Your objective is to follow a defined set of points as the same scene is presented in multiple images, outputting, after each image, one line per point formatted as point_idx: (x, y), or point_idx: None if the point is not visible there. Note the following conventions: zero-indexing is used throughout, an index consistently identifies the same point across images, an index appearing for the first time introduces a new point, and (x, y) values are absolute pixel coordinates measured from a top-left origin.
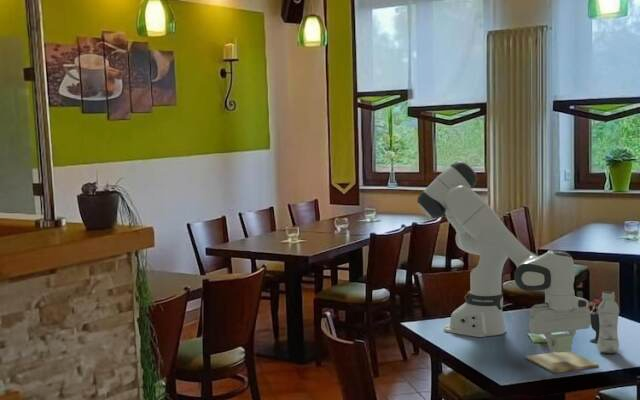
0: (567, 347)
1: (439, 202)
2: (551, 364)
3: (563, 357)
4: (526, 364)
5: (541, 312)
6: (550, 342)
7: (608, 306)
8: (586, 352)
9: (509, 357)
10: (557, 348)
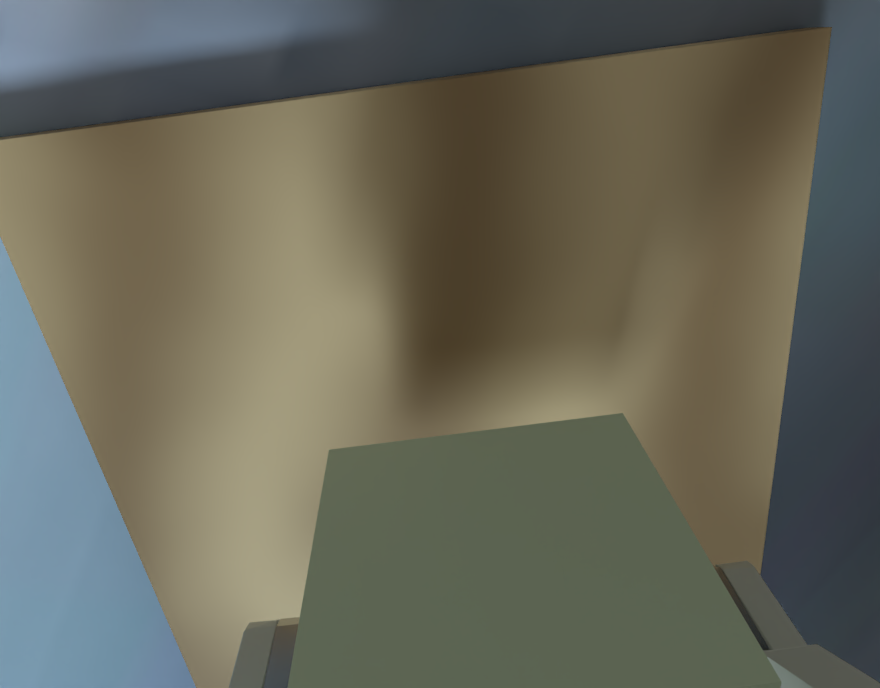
0: (416, 487)
1: None
2: (669, 316)
3: None
4: (859, 456)
5: None
6: (788, 619)
7: None
8: (5, 669)
9: (853, 664)
10: (650, 463)
